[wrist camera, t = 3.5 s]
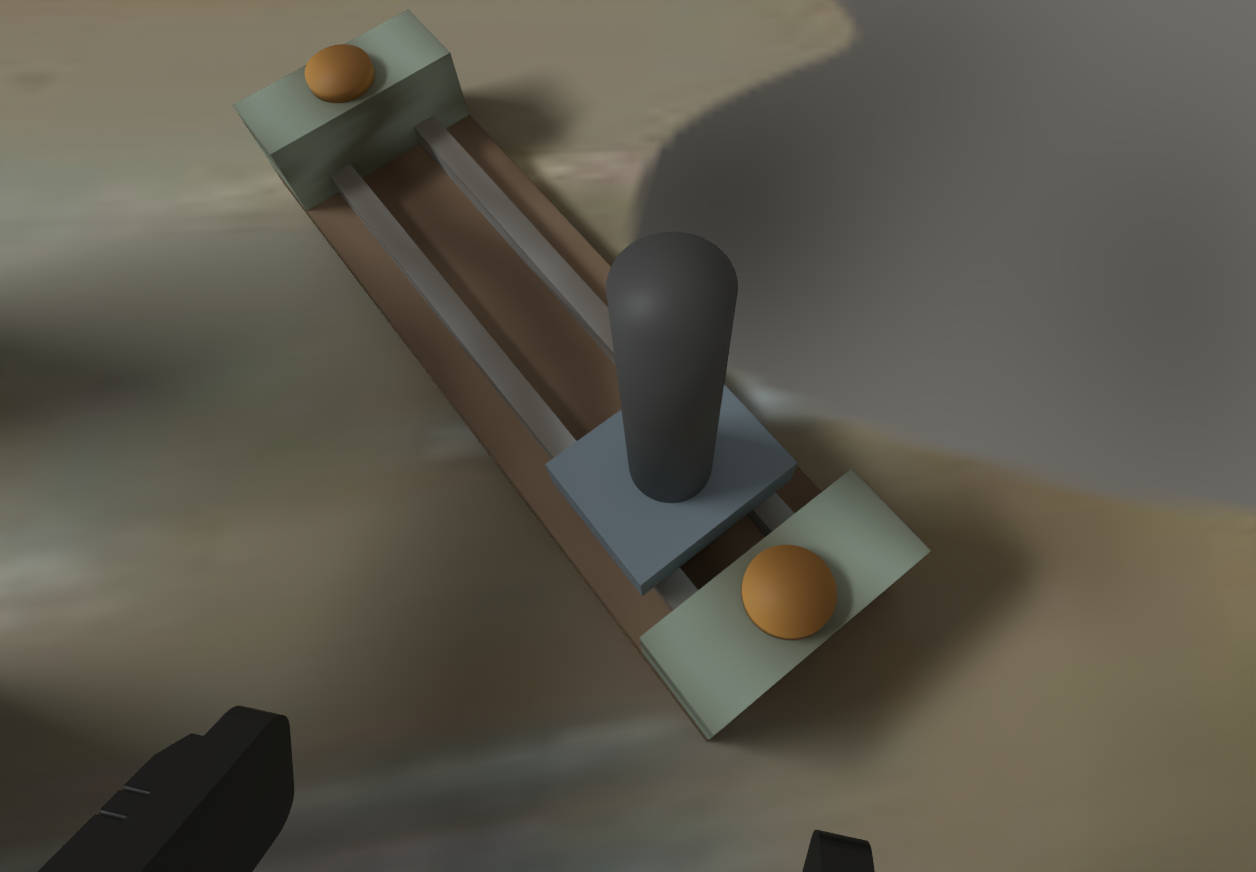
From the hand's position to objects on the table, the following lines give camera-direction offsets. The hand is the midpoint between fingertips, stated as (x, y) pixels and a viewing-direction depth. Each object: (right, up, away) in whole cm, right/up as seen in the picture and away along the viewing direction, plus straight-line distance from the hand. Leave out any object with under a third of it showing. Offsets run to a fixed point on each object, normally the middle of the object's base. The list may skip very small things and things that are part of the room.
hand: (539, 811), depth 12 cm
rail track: (-3, +9, +26) cm, 28 cm away
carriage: (+3, +4, +20) cm, 21 cm away
